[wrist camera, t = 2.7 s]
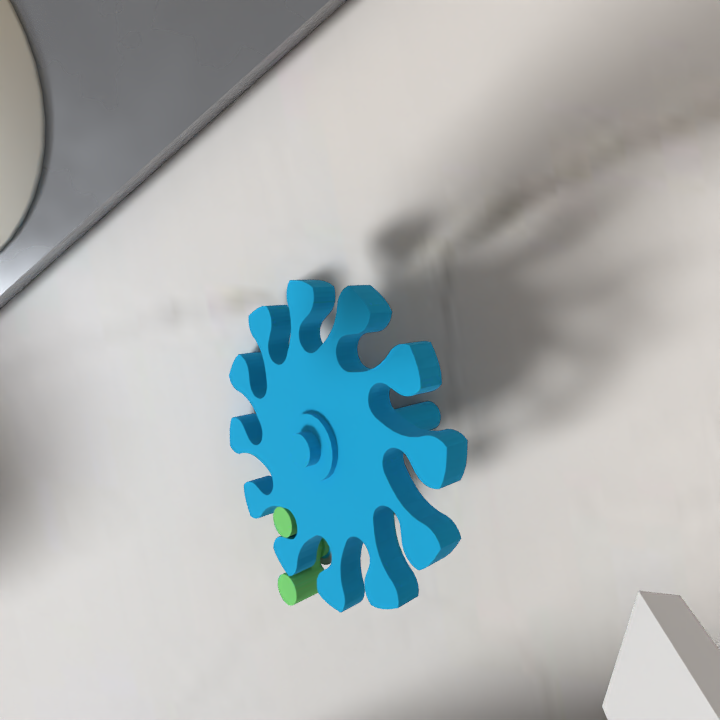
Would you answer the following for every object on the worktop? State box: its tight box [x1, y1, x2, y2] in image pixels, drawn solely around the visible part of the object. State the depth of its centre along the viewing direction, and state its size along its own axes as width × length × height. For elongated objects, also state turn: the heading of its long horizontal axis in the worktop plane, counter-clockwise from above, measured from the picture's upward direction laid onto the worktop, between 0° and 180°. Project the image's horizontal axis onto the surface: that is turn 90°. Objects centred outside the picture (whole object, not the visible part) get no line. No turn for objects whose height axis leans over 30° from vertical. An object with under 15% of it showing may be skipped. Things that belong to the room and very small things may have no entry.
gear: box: [229, 280, 468, 612], centre depth 19 cm, size 11×6×10 cm
